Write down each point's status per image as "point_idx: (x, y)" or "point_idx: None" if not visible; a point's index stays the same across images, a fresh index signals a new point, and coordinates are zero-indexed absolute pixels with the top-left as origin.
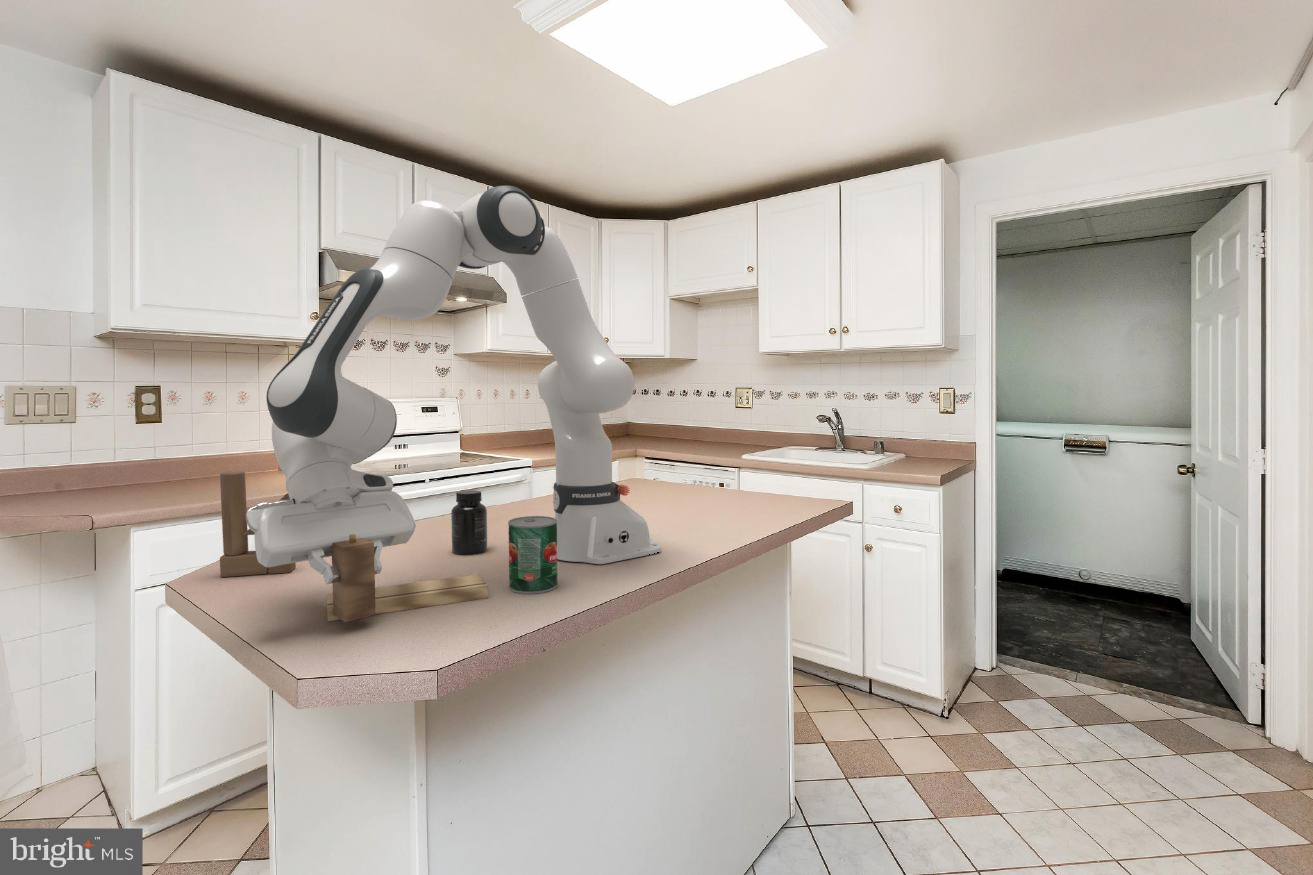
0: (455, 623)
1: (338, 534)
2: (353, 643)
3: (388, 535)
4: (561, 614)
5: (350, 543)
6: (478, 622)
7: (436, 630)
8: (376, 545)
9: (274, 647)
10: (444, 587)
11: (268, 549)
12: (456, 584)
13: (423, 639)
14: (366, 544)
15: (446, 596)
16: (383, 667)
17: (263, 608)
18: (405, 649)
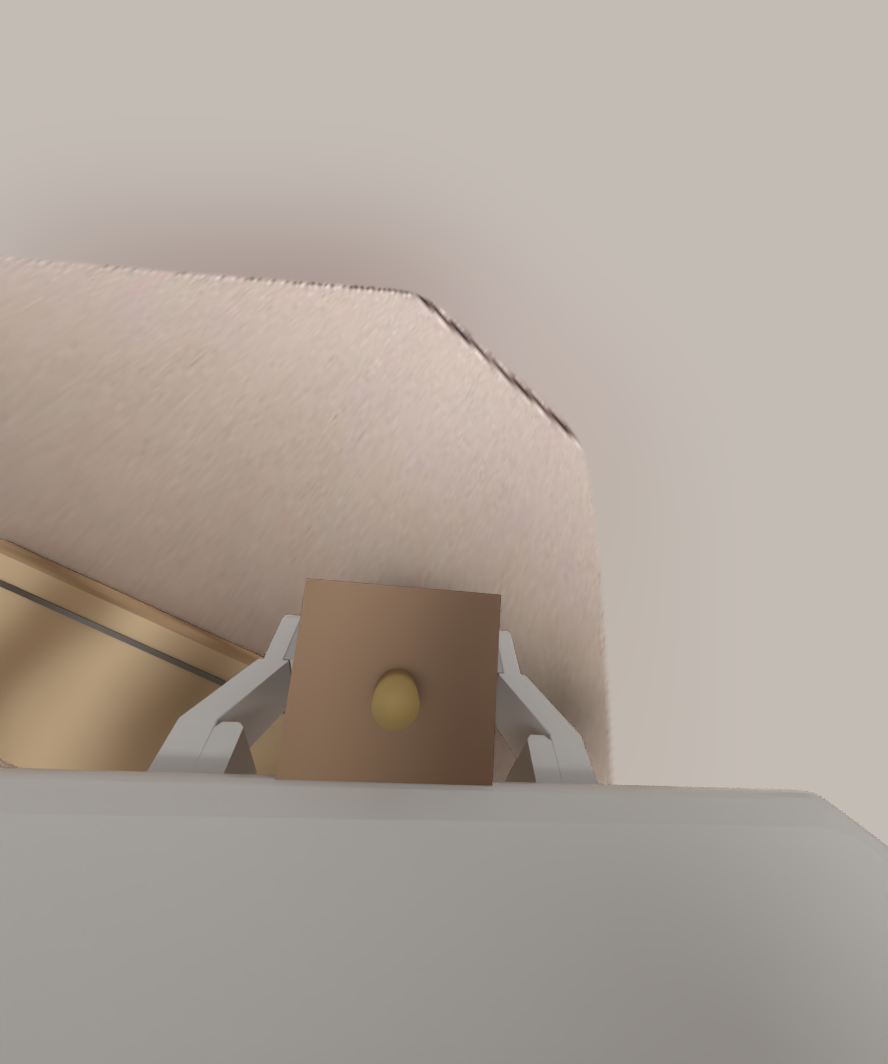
0: (229, 445)
1: (441, 855)
2: (454, 527)
3: (66, 769)
4: (18, 280)
5: (422, 666)
6: (189, 405)
7: (290, 445)
8: (216, 728)
9: (577, 646)
10: (63, 634)
11: (858, 824)
12: (7, 631)
13: (343, 424)
14: (356, 584)
15: (107, 594)
16: (471, 374)
17: None
18: (399, 410)
